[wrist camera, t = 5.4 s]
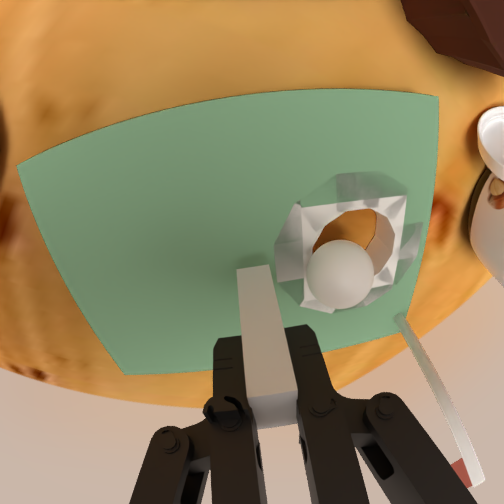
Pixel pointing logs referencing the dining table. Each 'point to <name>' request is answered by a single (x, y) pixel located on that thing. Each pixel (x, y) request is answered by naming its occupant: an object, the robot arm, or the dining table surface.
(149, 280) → the green
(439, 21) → the muffin
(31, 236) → the dining table surface
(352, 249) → the ball
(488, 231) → the spread jar
